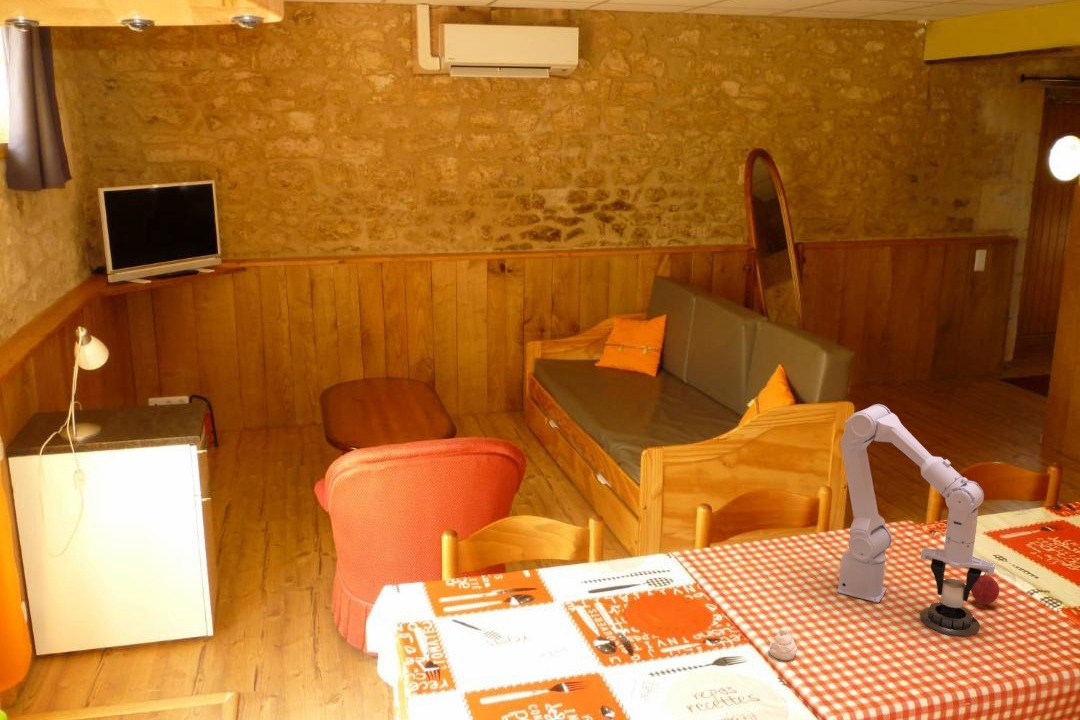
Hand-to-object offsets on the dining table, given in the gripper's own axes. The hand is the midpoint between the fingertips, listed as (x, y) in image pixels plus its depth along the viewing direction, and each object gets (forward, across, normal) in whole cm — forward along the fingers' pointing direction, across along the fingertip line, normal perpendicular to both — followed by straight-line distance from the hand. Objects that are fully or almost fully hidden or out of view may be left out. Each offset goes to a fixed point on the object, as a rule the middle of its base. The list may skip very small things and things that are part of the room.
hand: (952, 596), depth 207 cm
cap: (+2, 0, 0) cm, 2 cm away
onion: (+6, +5, +13) cm, 15 cm away
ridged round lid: (+6, 0, 0) cm, 6 cm away
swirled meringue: (+6, -26, -33) cm, 43 cm away
